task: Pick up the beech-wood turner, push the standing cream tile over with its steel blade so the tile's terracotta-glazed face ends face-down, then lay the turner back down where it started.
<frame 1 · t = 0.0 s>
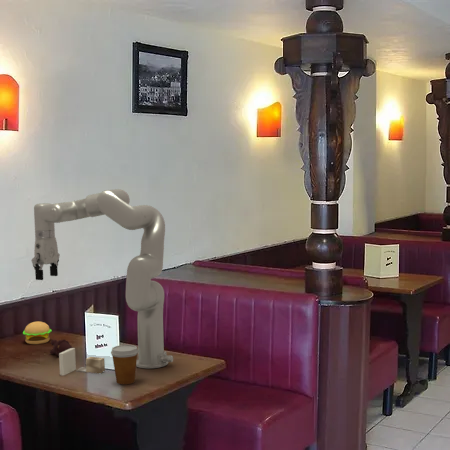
hand: (46, 277, 282), 31 cm above the table, tool pointing down, fingers open, 9 cm apart
turner: (95, 371, 261), on the table
disposable coffee cup: (125, 382, 248), on the table
hamburger: (37, 342, 307), on the table
tile: (68, 372, 261), on the table
icecream: (62, 356, 283), on the table
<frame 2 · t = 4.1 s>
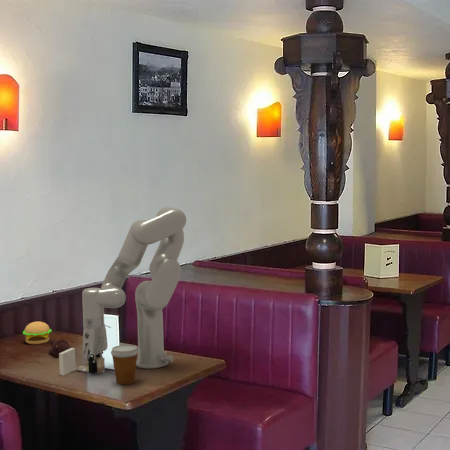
hand: (95, 371, 261), 0 cm above the table, tool pointing down, fingers closed on turner, 2 cm apart
turner: (95, 371, 261), on the table, touching gripper
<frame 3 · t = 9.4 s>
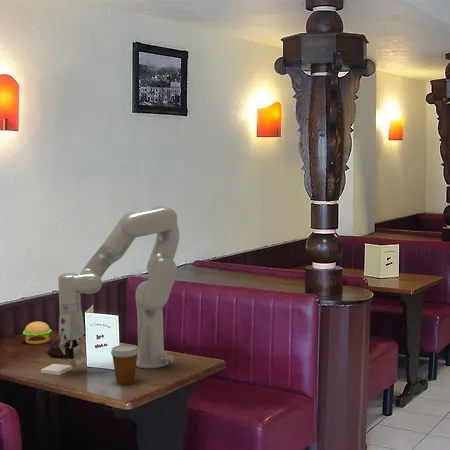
hand: (72, 356, 260), 6 cm above the table, tool pointing down, fingers closed on turner, 2 cm apart
turner: (71, 360, 260), point 5 cm above the table, tilted 56°, touching gripper
tile: (65, 370, 261), on the table, tilted 90°
when the fingers open (2 cm above the table, at t = 14.2 s): turner stays where it is, on the table.
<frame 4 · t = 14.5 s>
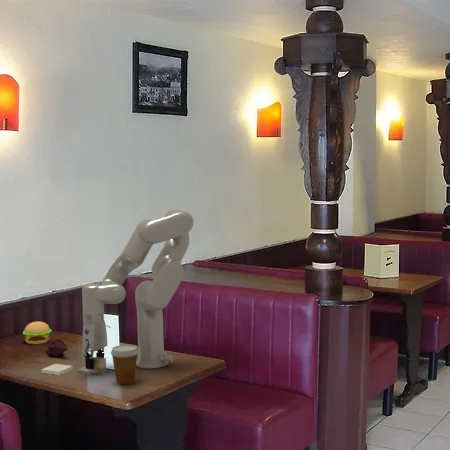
hand: (95, 365, 261), 2 cm above the table, tool pointing down, fingers open, 6 cm apart
turner: (97, 371, 261), on the table
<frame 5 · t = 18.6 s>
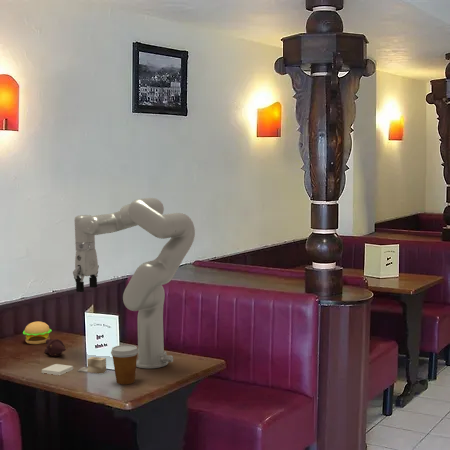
hand: (86, 289, 282), 26 cm above the table, tool pointing down, fingers open, 9 cm apart
at the end: tile tilted 90°; tile inside the target area (2.4 cm from its centre), point 0.5 cm above the table; turner inside the target area (1.1 cm from its centre), on the table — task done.
